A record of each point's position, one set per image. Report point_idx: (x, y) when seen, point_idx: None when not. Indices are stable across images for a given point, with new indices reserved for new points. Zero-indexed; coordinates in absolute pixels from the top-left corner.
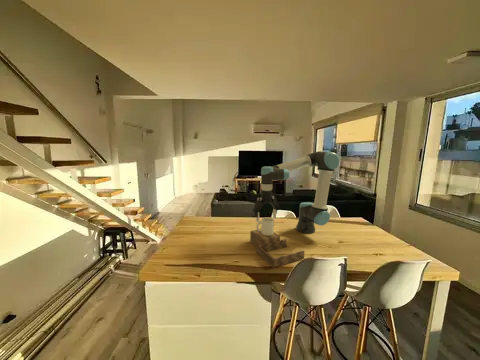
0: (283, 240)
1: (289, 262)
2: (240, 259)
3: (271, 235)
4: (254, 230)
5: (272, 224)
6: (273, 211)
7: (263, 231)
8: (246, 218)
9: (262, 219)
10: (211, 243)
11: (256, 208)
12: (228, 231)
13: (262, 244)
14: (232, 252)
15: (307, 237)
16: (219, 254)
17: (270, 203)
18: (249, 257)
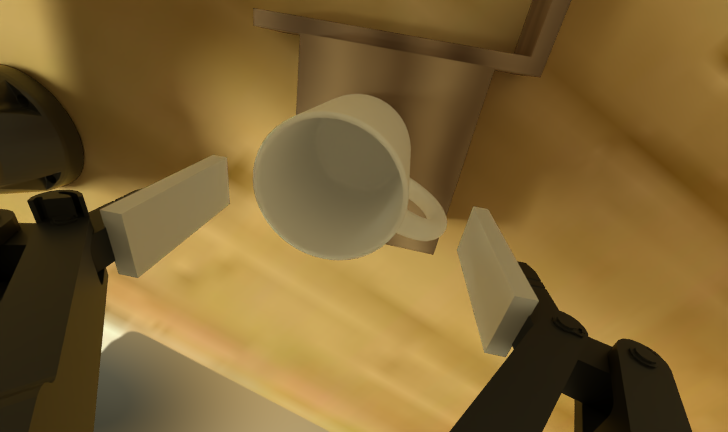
0: (286, 15)
1: None
2: (687, 66)
3: None
4: (402, 244)
5: (323, 105)
6: (169, 239)
7: (410, 150)
8: (265, 392)
9: (364, 246)
10: (618, 318)
11: (663, 426)
12: (437, 355)
13: (486, 64)
14: (631, 175)
15: (63, 36)
16: (713, 203)
17: (89, 407)
18: (615, 50)
